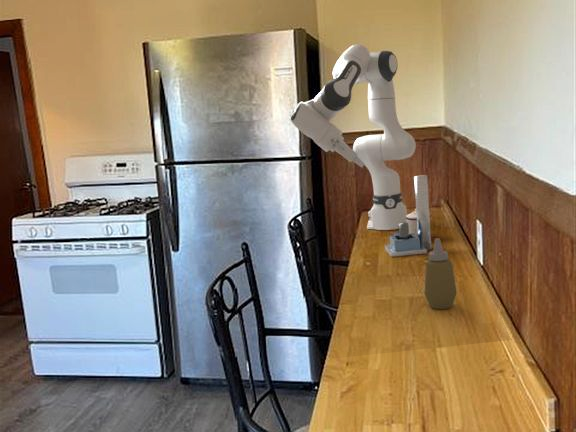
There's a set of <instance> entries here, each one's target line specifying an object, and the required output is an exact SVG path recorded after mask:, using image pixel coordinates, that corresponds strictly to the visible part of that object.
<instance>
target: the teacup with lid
mask: <svg viewBox="0 0 576 432" xmlns="http://www.w3.org/2000/svg"><path fill="white" fill-rule="evenodd" d="M429 217H430V218H431V215H430V213H429ZM406 219H407V222H408V223H409V234H410V233H414V234H415V235H417V236H418V231H417V215H416V208H415V209H414V210H413V211H411V212H410V213H407V216H406ZM431 233H432V230H431V228H430V234H431Z"/></svg>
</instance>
